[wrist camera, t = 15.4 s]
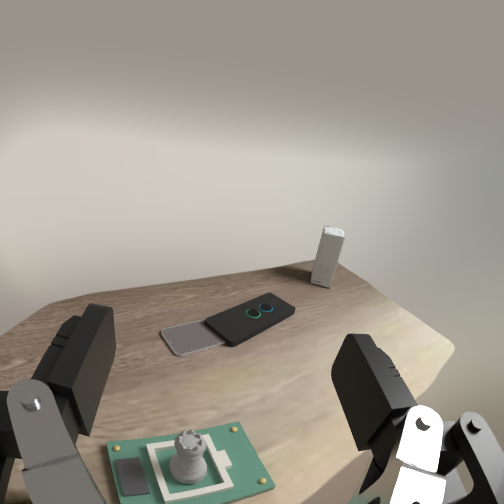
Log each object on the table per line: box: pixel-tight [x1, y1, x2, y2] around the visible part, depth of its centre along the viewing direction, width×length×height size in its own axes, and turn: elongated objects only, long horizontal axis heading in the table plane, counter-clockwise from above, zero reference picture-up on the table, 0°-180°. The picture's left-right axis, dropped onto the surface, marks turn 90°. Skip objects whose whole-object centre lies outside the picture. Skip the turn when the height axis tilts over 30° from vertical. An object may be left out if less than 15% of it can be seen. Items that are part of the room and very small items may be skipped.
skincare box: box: [311, 226, 345, 288], centre depth 83 cm, size 8×6×15 cm
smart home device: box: [204, 293, 295, 347], centre depth 62 cm, size 8×2×20 cm
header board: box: [106, 422, 276, 504], centre depth 29 cm, size 18×11×2 cm, turn 115°
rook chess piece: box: [169, 430, 207, 484], centre depth 27 cm, size 4×4×8 cm
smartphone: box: [161, 319, 226, 357], centre depth 55 cm, size 7×1×15 cm
